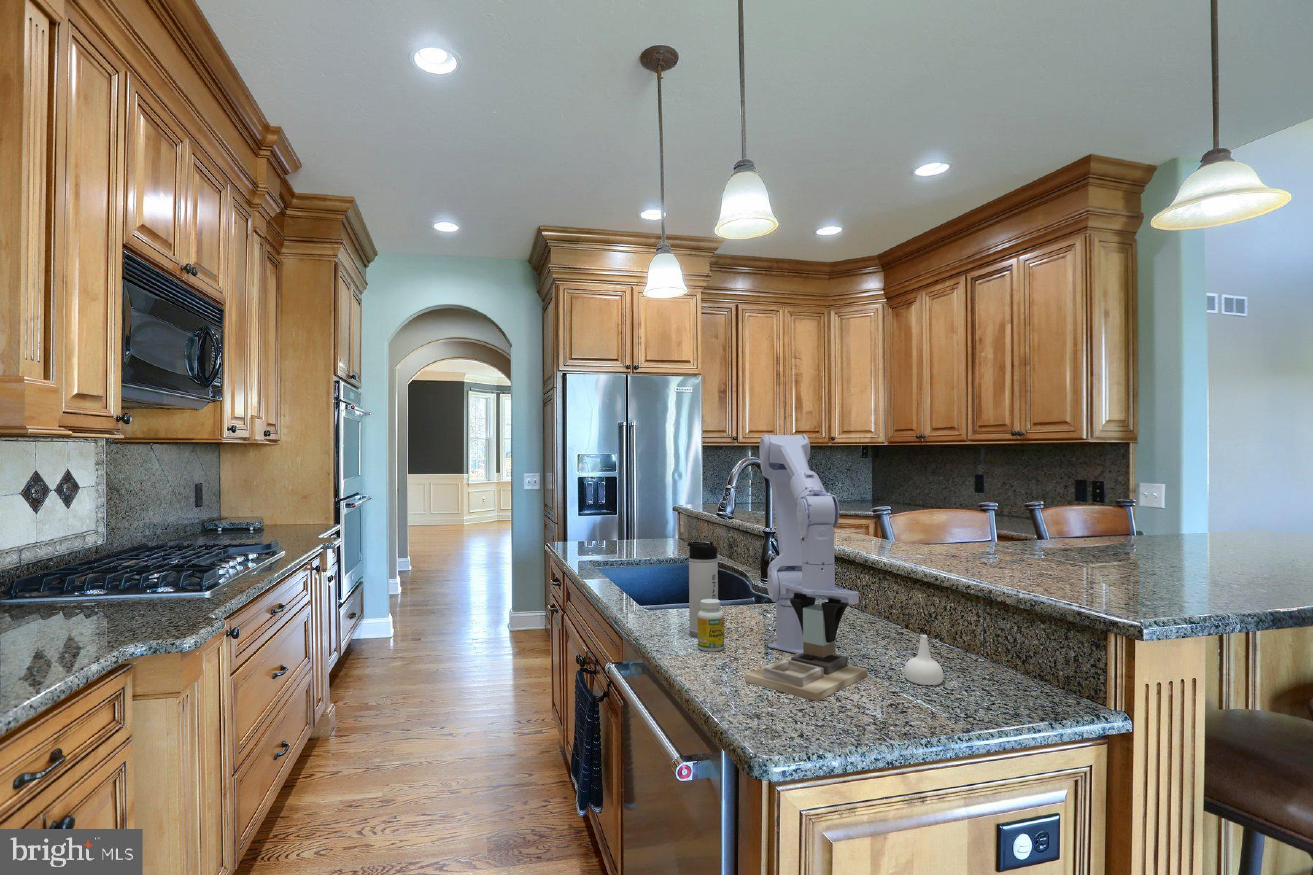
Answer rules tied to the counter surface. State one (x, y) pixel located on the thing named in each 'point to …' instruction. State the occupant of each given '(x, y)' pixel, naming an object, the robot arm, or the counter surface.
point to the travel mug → (701, 580)
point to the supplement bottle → (710, 626)
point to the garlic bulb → (923, 667)
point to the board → (808, 675)
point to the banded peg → (815, 632)
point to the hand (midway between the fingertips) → (819, 639)
